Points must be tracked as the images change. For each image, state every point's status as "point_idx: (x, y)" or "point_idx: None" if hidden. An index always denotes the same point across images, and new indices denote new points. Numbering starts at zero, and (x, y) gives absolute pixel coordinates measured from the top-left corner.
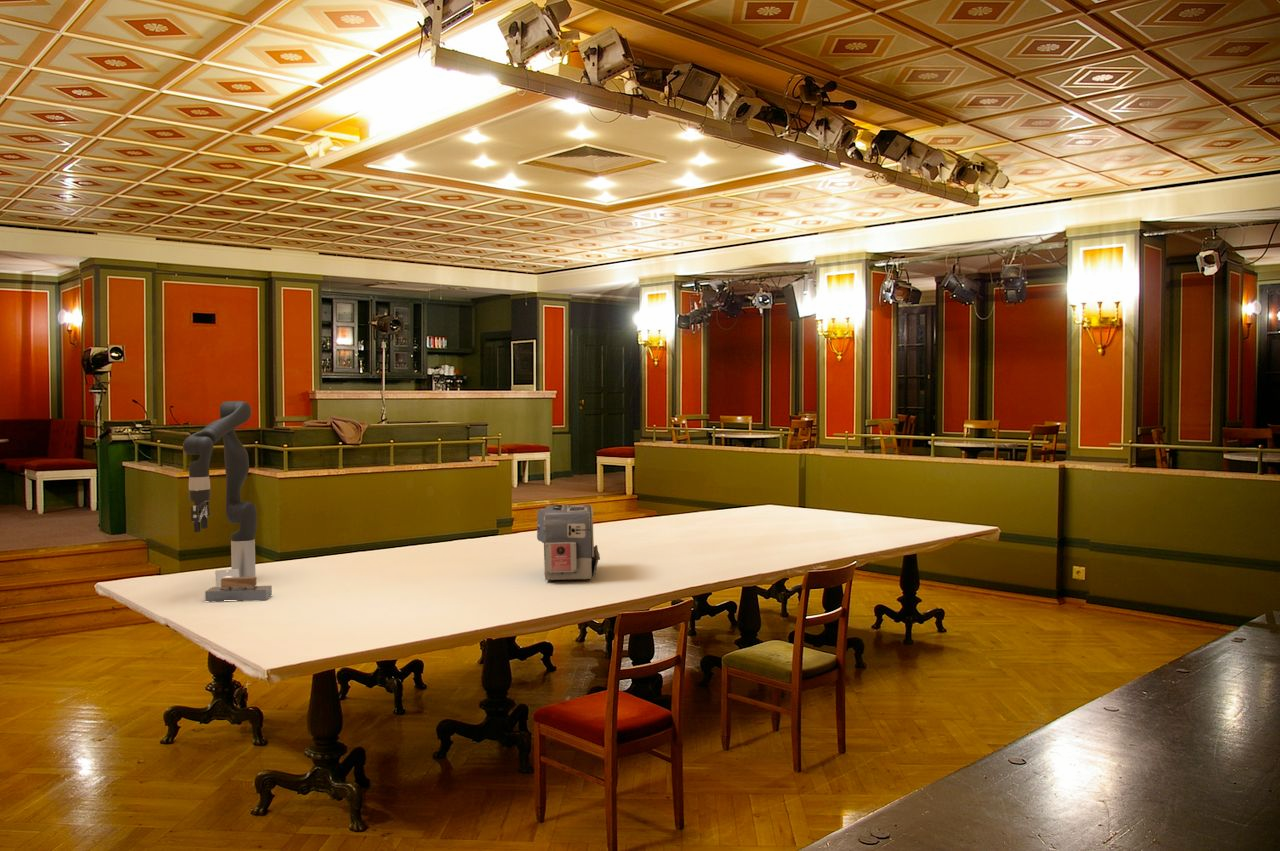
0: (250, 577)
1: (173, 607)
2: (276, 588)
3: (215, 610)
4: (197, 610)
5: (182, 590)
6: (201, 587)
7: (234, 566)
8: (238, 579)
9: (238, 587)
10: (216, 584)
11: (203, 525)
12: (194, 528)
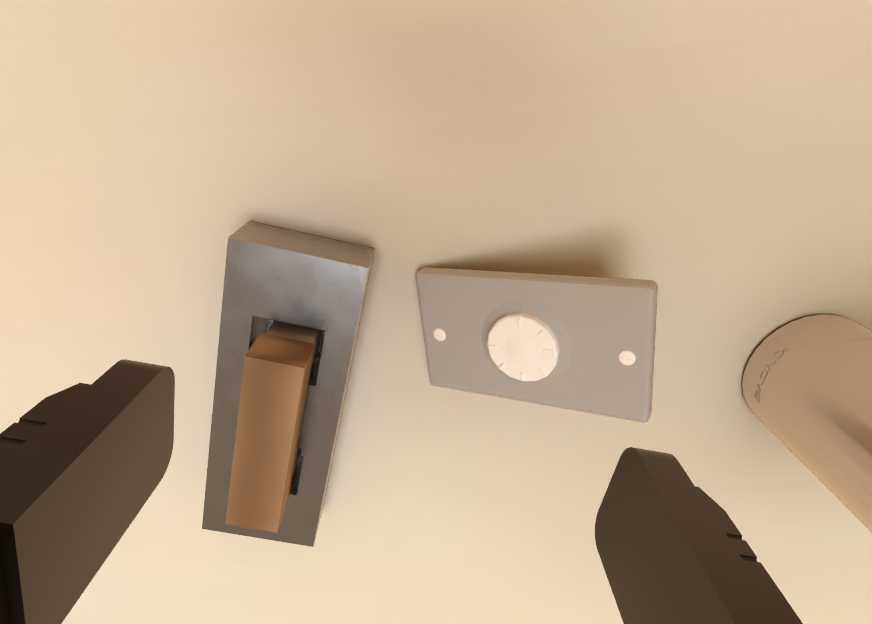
0: (262, 507)
1: (127, 39)
2: (500, 517)
3: (13, 293)
4: (21, 199)
5: (698, 29)
6: (737, 151)
7: (840, 380)
8: (236, 448)
9: (308, 408)
10: (499, 277)
11: (636, 523)
12: (26, 413)
